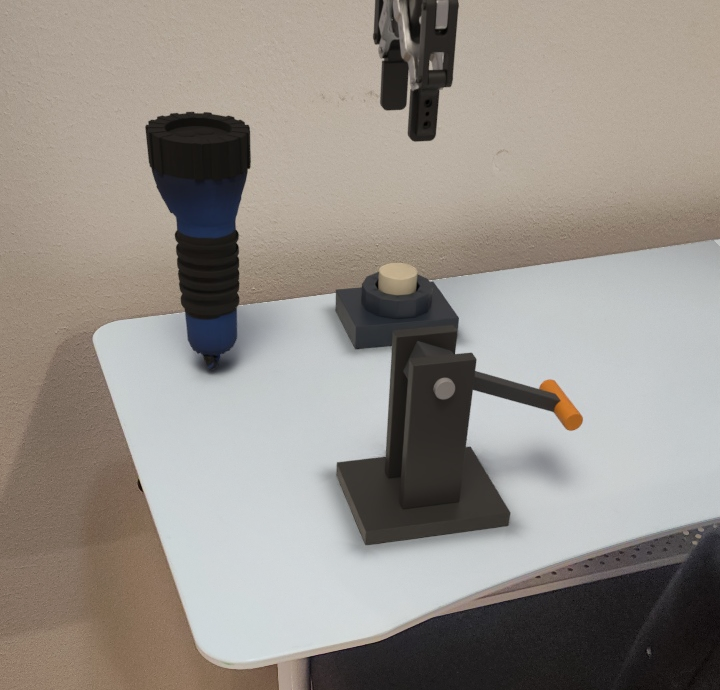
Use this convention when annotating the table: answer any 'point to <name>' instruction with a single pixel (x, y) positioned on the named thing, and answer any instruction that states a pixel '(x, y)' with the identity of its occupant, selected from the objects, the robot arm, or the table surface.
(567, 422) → the lever with orange handle
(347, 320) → the block
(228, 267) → the flashlight
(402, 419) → the lever pivot stand
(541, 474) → the table surface
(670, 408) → the table surface
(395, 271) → the power button
